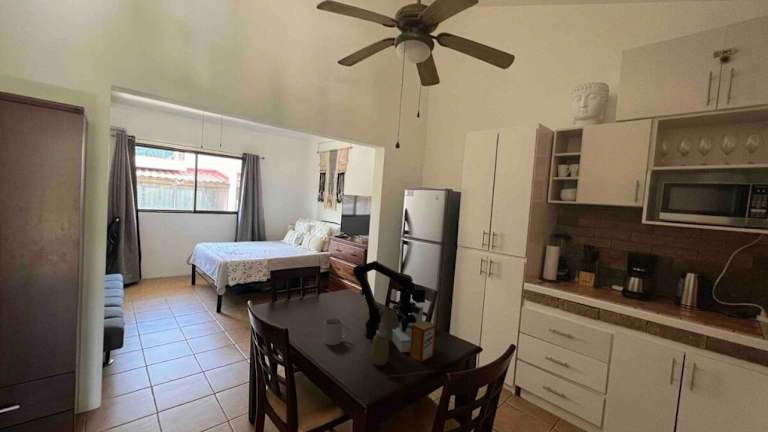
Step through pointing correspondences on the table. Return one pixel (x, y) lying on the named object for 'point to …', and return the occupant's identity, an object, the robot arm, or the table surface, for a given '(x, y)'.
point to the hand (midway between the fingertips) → (402, 329)
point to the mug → (333, 331)
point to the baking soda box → (422, 341)
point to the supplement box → (419, 317)
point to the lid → (403, 333)
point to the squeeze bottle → (380, 347)
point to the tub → (401, 344)
